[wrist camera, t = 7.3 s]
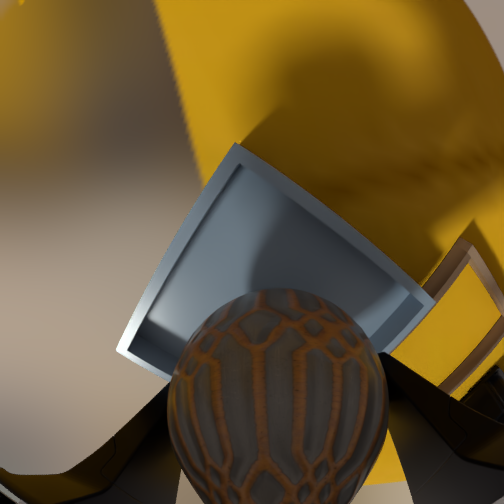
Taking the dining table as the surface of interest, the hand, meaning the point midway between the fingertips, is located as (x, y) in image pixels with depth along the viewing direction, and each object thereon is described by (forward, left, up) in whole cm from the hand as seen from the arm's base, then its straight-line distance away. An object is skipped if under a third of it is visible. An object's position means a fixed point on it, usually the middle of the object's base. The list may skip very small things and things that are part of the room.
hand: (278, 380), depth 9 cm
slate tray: (0, 0, -4) cm, 4 cm away
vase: (0, 0, -3) cm, 3 cm away
